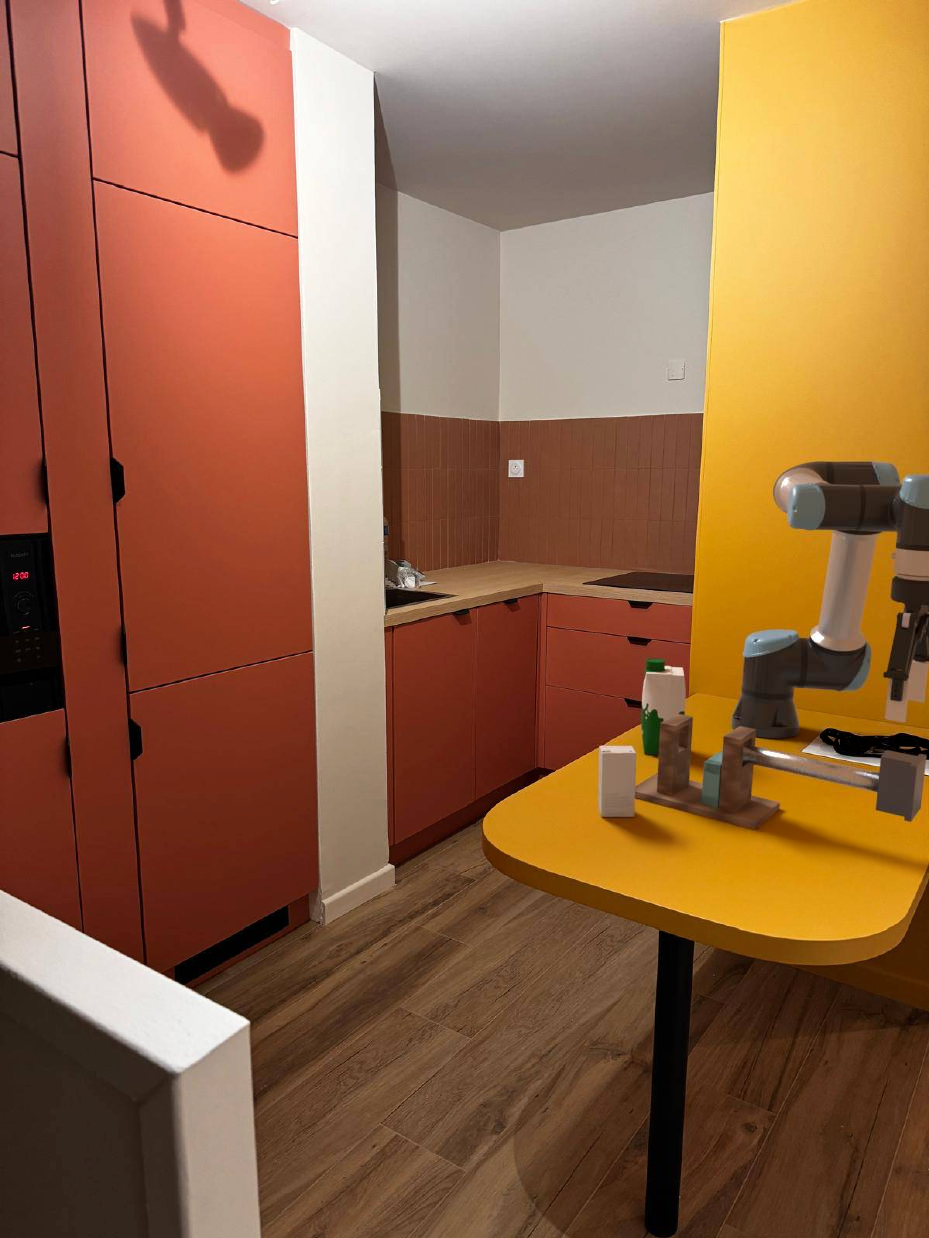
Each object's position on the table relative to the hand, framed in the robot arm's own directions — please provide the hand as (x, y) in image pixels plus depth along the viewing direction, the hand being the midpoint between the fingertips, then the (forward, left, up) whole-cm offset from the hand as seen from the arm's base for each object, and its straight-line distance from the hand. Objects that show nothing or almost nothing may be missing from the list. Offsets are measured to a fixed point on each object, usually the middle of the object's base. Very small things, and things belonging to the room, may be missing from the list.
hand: (905, 710), depth 137 cm
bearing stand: (0, -32, -24) cm, 40 cm away
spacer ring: (0, -29, -22) cm, 37 cm away
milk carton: (-22, -51, -24) cm, 60 cm away
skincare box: (+15, -42, -24) cm, 51 cm away
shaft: (0, -12, -16) cm, 20 cm away
